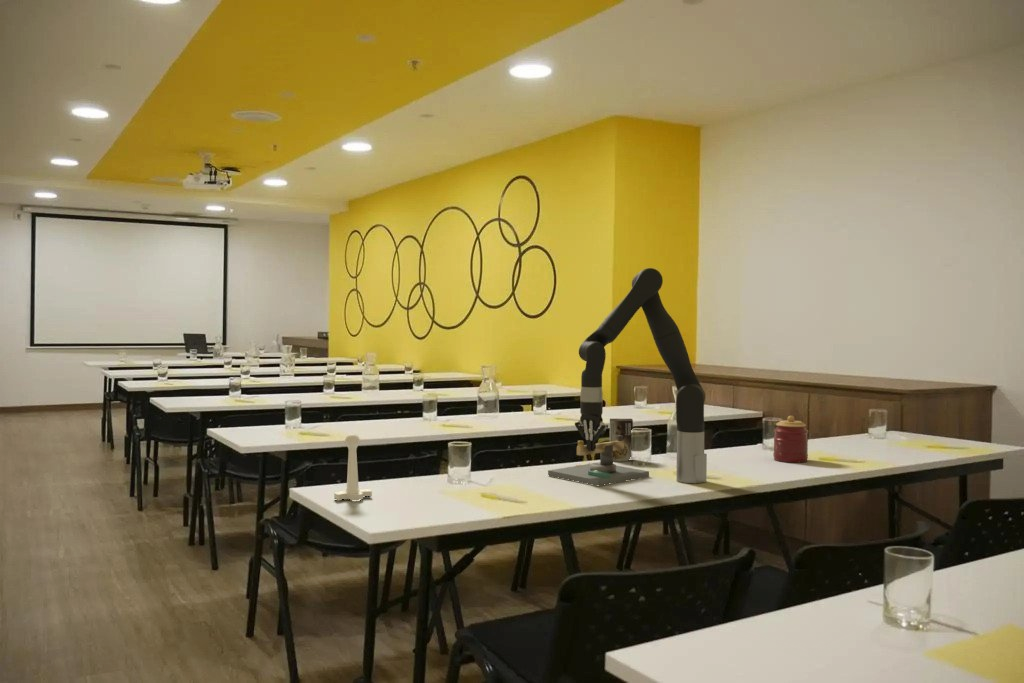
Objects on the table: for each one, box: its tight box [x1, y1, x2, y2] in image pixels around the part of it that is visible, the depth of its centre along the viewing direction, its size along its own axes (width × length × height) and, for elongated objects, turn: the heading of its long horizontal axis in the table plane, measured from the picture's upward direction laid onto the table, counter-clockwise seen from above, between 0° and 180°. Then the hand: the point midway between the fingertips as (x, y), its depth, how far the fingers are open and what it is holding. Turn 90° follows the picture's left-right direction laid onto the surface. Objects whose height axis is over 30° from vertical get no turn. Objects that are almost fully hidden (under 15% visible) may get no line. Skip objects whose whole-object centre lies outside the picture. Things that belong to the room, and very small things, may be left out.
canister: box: [773, 415, 809, 464], centre depth 335 cm, size 13×13×18 cm
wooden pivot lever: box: [576, 435, 624, 473], centre depth 298 cm, size 22×9×12 cm, turn 131°
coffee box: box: [609, 418, 634, 462], centre depth 334 cm, size 9×6×16 cm
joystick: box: [333, 433, 373, 501], centre depth 261 cm, size 11×8×20 cm
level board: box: [547, 461, 650, 486], centre depth 300 cm, size 24×26×4 cm
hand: (591, 450), depth 290 cm, fingers closed
